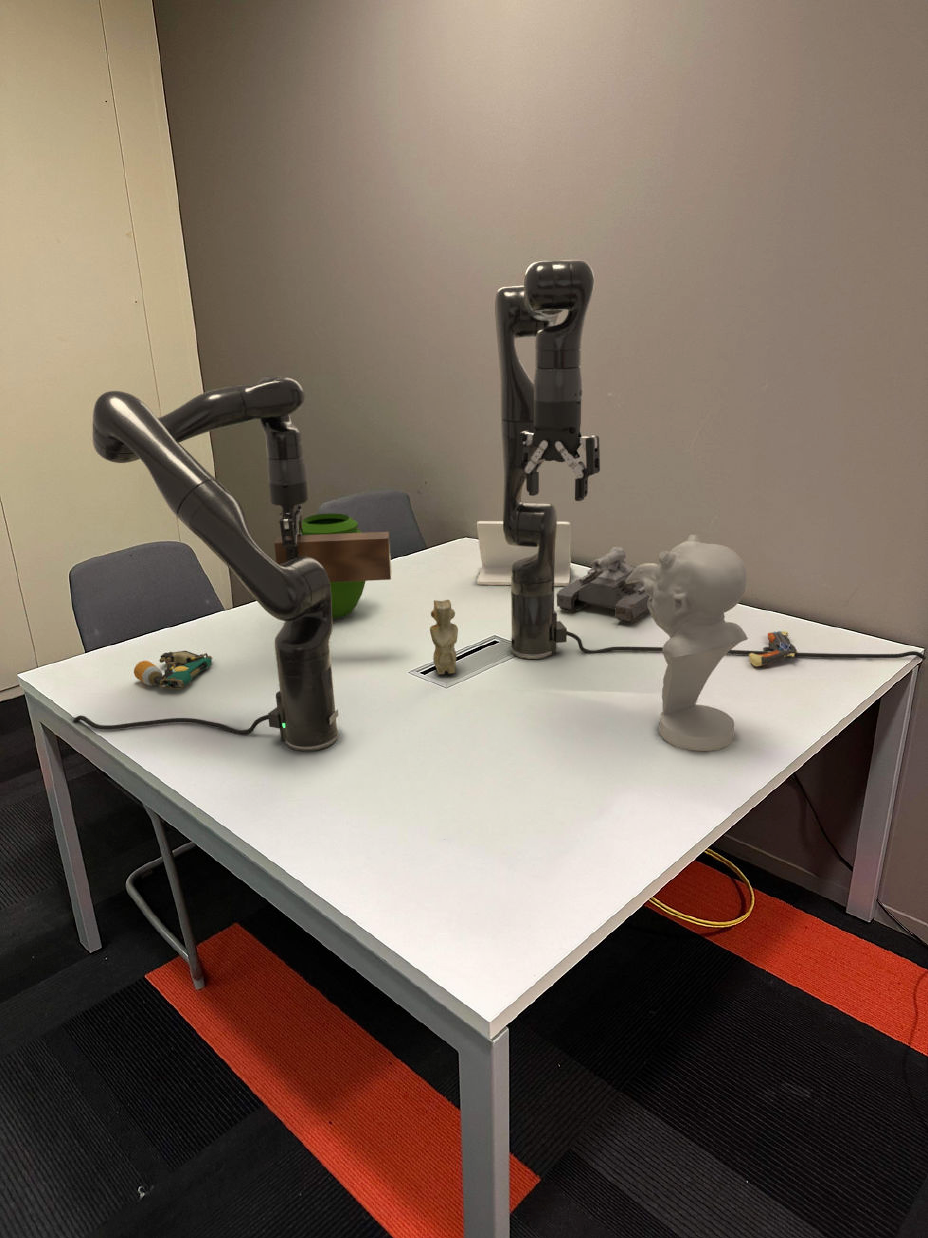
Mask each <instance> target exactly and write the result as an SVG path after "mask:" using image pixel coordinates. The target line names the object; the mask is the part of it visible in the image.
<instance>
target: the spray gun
mask: <svg viewBox="0 0 928 1238" xmlns="http://www.w3.org/2000/svg"><path fill="white" fill-rule="evenodd" d="M212 660H213V657H212V656H211V655H208V653H207V652H205V653H201V654H197V653H194V652H192V651H191V652H190V651H188V650H180V651H169V652H164V653H162V654H161V655H160V658H159V660H158V662H159V663H161V664H163V663H165V664H166V668H165V670H163V672H164V674H163V673H162V669H160V668H159V666H157V665H156V664H154V663H152V662H151V661H149V660H141V661H139V662H138V663H136V665H135V666H134V668H133V675H134V677H135V678H136V679H137V680H139V681H140V682H142V683H143V684H145V685H147V686H155V685H157V686H158V687H160V688H161V689H171V690H172V689H173V690H182V689H184V687H185V686H186V685H188V684H189V683H190V682H191V681H192V679H193V678H195V677H196V676H197V675H198V674H200V673H201V672H202V671H203V670H206V669H208V668H209V667H210V666H211V665H212V662H213V661H212ZM178 663H179V664H181V665H179V666H176V665H177V664H178Z"/></svg>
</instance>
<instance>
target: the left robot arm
mask: <svg viewBox="0 0 928 1238" xmlns="http://www.w3.org/2000/svg"><path fill="white" fill-rule="evenodd" d="M305 397H306V396H305V391H304V388H303V387H302V385H301V383H300V382H298V381H297V380H295V379H294V378H291V377H286V376H277V375H268V376H264V377H262V378H261V379H260V380H259V381H258V383H255V384H235V385H229V386H225V387H220V388H219V387H218V388H215V389H212V390H208V391H205V392H203V393H200V394H198V395H196V396H194V397H192V398H191V399H189V400H188V401H187V402H185V403H184V404H182V405H181V406H179V407H177V408H175V409H174V410H172V411H170V412H168V413H166V414H164V415H162V416H159V417H157V415H156V414H155V413H154V412H153V411H152V410H151V409H150V407H148V406H147V404H145V403H144V402H143V401H142V400H141V399H139V398H138V397H136V396H134V395H133V394H130V393H128V392H125V391H121V390H109V391H106V392H104V393H102V394H101V395H100V396H98V397H97V399H96V400H95V403H94V406H93V411H92V432H91V433H92V434H91V435H92V437H91V439H92V445H93V448H94V450H95V452H96V453H97V455H99V456H100V457H101V458H102V459H104V460H106V461H109V462H111V463H115V464H125V463H126V464H127V463H131V462H135V461H138V460H140V461H141V462H142V463H143V464H144V466H145V467H146V469H147V470H148V472H149V474H150V476H151V477H152V479H153V481H154V484H155V485H156V487H157V489H158V491H159V493H160V494H161V496H162V498H163V500H164V502H165V503H166V505H167V506H168V508H169V509H170V510H171V512H172V513H173V514H174V516H176V517H177V518H178V520H180V522H181V523H182V524H184V525H185V526H186V527H187V528H188V529H189V530H190V532H192V533H193V534H194V535H196V537H198V538H199V539H200V540H201V541H202V542H203V543H204V544H205V545H206V546H207V547H208V548H209V549H210V550H211V551H212V552H213V553H214V555H216V556H217V557H218V558H219V559H220V560H221V561H222V563H224V564H225V565H226V566H227V568H228V569H230V571H231V572H232V573H233V574H234V576H235V577H236V578H237V579H238V580H239V581H240V583H241V584H242V585H243V586H244V587H245V589H246V590H247V591H248V592H249V594H250V595H251V596H252V597H253V598H254V600H255V601H256V602H257V603H258V604H259V605H260V607H262V608H263V610H265V611H266V612H267V614H269V615H270V616H272V617H273V618H275V619H276V620H279V621H281V622H284V623H283V625H282V627H281V628H280V630H279V632H278V633H277V634H276V636H275V638H274V652H275V653H274V654H275V661H276V666H277V667H276V668H277V669H276V670H277V677H278V686H279V690H278V691H277V692H276V693H275V701H276V707H275V708H273V709H272V710H270V711H269V712H268V713H267V714H265V715H262V716H260V717H258V718H256V719H255V720H254V721H253V722H252V723H251V725H250V726H249V728H247V729H237V728H233V727H231V726H229V725H226V724H223V723H220V722H215V721H210V720H205V719H200V718H193V717H171V718H161V719H152V720H145V721H144V720H143V721H134V722H128V723H121V724H110V725H109V724H106V725H105V724H98V723H96V722H94V721H92V720H91V719H89V718H88V717H87V716H85V715H81V714H80V715H78V716H76V717H75V718H74V719H73V720H72V723H79V721H82V722H83V723H85V724H86V725H87V726H89V727H91V728H92V729H95V730H100V731H101V730H102V731H103V730H104V731H113V730H114V731H115V730H121V729H128V728H137V727H146V726H147V727H148V726H155V725H162V724H163V725H164V724H172V723H187V724H190V723H191V724H198V725H203V726H207V727H212V728H218V729H221V730H224V731H226V732H228V733H231V734H235V735H241V736H244V735H249V734H251V733H253V732H254V730H255V729H256V727H258V725H259V724H261V723H262V722H264V721H267V720H268V726H269V727H270V728H273V729H278V730H279V736H280V741H281V742H282V743H285V745H286V746H287V747H288V748H290V749H292V750H295V751H298V752H299V751H300V752H312V751H318V750H319V751H320V750H322V749H323V750H324V749H325V748H328V747H329V746H332V745H333V744H334V743H336V741H337V740H338V738H339V730H338V725H337V724H338V723H337V718H338V717H339V708H337V709H336V703H335V701H336V700H335V691H334V680H333V670H332V669H333V668H332V661H331V650H330V639H331V636H332V632H333V619H332V598H331V587H330V581H329V578H328V575H327V573H326V571H325V569H324V567H323V566H322V565H321V564H320V563H319V562H318V561H317V560H315V559H313V558H311V557H305V556H303V557H298V550H297V545H298V542H297V536H299V535H302V534H301V533H302V531H303V529H302V521H303V517H302V516H303V511H302V504H305V503H307V501H309V494H308V493H309V491H308V481H307V471H306V463H305V459H304V452H303V451H304V449H303V440H302V434H301V431H300V429H299V428H298V427H297V426H295V424H294V423H293V422H292V418H291V415H293V414H295V413H297V412H298V411H299V410H300V409H301V408H302V407H303V405H304V402H305ZM255 420H259V422H260V424H261V428H262V431H263V433H264V437H265V448H266V449H265V450H266V457H267V459H266V460H267V465H266V466H267V467H266V469H267V470H266V471H267V481H268V490H269V499H270V500H269V501H270V503H271V505H272V504H273V505H275V506H280V507H281V512H280V513H279V520H278V521H279V522H278V523H279V528H280V534H281V535H280V536H282V545H283V547H286V554H287V562H285V563H283V564H281V565H279V564H277V563H276V561H274V560H273V559H272V558H271V557H270V556H268V554H267V553H265V551H264V550H263V549H261V548H260V546H259V545H258V543H257V542H256V541H255V540H254V538H253V536H252V534H251V532H250V528H249V525H248V522H247V521H248V520H247V517H246V515H245V512H244V509H243V507H242V505H241V503H240V502H239V500H238V499H237V498H236V497H235V496H234V495H233V493H232V492H231V491H230V490H228V489H227V487H225V486H224V485H223V484H222V483H221V482H220V481H219V480H218V479H217V478H216V477H214V476H213V475H212V474H211V473H210V472H209V471H208V470H207V469H206V468H205V467H204V466H203V465H202V464H201V463H200V462H199V461H198V460H197V459H195V457H194V456H193V455H192V454H191V453H190V452H189V451H188V450H187V449H186V448H184V446H183V445H182V444H180V443H182V442H185V441H187V440H190V439H192V438H195V437H197V436H200V435H204V434H206V433H208V432H212V431H216V430H219V429H223V428H228V427H233V426H237V425H241V424H244V423H245V424H246V423H248V422H251V421H255ZM288 536H291V537H292V540H287V537H288ZM281 742H280V743H281Z"/></svg>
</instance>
